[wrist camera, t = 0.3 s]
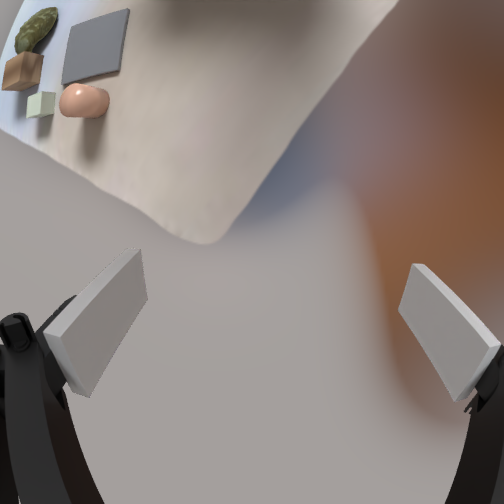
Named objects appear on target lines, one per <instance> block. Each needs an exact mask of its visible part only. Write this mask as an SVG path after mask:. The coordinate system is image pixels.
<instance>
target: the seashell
mask: <svg viewBox="0 0 504 504" xmlns="http://www.w3.org/2000/svg"><path fill="white" fill-rule="evenodd" d="M57 12H58V11H57V8H56V7H50V8H46V9H42V10H40V11H39V12H37V13H36V14H35V15H33V16H32V17H31V18H30V19H29V20H28V21H27V22H25V23H24V25H23V26H22V27H21V28H20V31H19V33H18V35H17V36H16V37H15V46H14V47H15V51H16V53H17V54H18V55H19V54H20V53H22V52H24V51H26V52H31V53H32V49H33V48H34V46H35V45H36V44H37V42H39V41H40V40H42V39H43V38H44V37H45V36H46V35H47V34H48V32H49V31H50V30H51V28H52V26H53V25H54V22H55V20H56V18H57Z"/></svg>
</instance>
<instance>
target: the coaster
mask: <svg viewBox="0 0 504 504" xmlns="http://www.w3.org/2000/svg"><path fill="white" fill-rule="evenodd" d="M129 13H130V9H128V8H127V9H123V10H120V11H116V12H113V13H109V14H106V15H103V16H100V17H97V18H94V19H91V20H88V21H85V22H82V23H80V24H77V25H75V26H72V27H71V30H70V34H69V39H68V44H67V49H66V54H65V60H64V67H63V74H62V82H61V85H66V84H69V83H72V82H75V81H79V80H82V79H86V78H90V77H94V76H98V75H102V74H106V73H111V72H115V71H120V67H121V59H122V52H123V45H124V39H125V33H126V28H127V22H128V17H129Z"/></svg>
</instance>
